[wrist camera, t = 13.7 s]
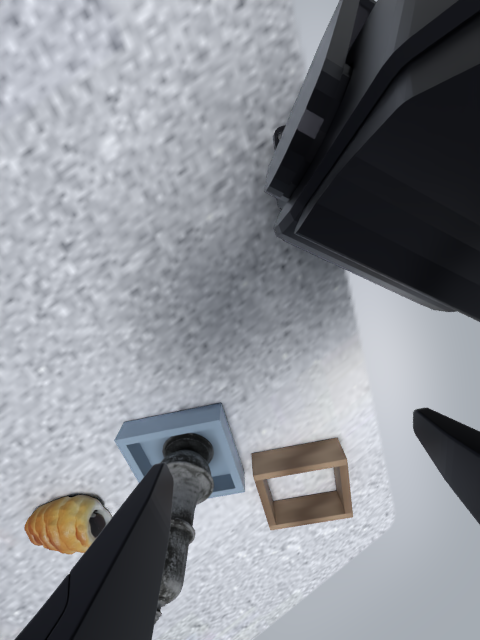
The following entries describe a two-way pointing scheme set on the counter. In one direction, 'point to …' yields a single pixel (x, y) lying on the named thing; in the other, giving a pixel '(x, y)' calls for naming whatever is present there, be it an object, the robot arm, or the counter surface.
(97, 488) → the counter surface
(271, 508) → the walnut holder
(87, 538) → the pastry
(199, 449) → the grey stone chess piece
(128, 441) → the slate tray
